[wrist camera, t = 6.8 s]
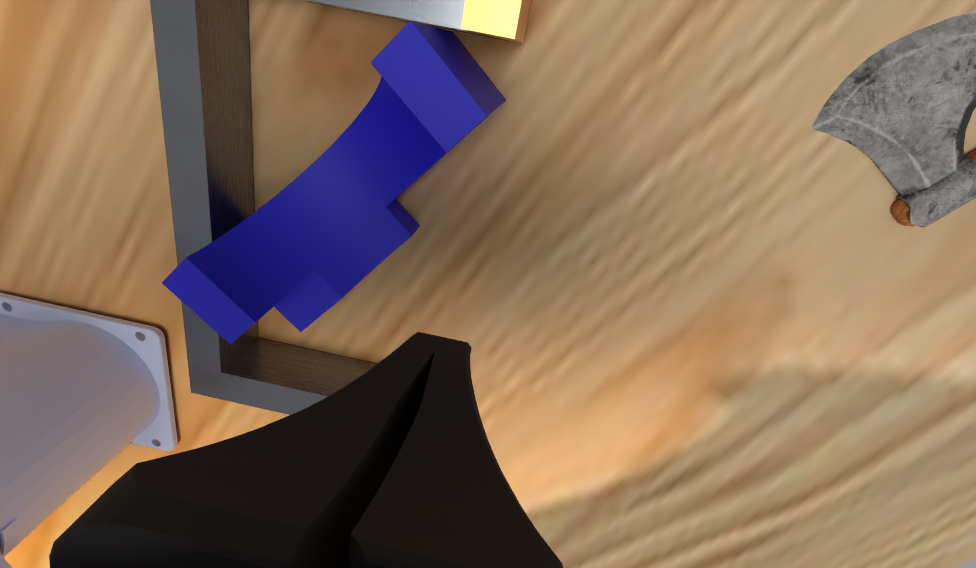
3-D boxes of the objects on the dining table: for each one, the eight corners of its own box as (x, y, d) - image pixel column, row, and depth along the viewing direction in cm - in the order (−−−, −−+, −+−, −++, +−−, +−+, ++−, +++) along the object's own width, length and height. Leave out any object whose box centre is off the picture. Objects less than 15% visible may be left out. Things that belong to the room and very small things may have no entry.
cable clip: (330, 300, 23) (262, 373, 18) (258, 228, 22) (161, 282, 17) (531, 131, 19) (521, 160, 14) (454, 32, 18) (410, 20, 13)
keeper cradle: (230, 356, 25) (167, 414, 21) (205, -66, 17) (99, -105, 13) (456, 406, 25) (437, 475, 21) (532, -5, 17) (525, -25, 13)
